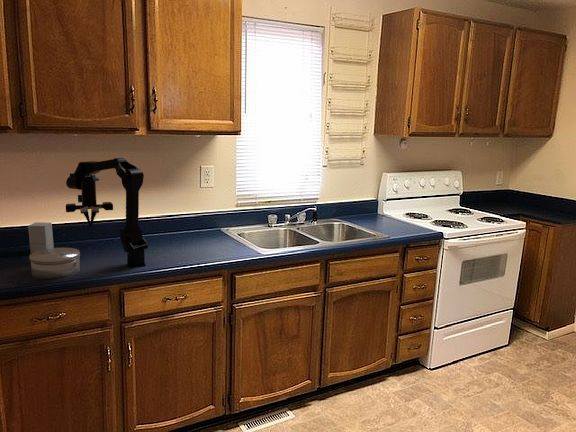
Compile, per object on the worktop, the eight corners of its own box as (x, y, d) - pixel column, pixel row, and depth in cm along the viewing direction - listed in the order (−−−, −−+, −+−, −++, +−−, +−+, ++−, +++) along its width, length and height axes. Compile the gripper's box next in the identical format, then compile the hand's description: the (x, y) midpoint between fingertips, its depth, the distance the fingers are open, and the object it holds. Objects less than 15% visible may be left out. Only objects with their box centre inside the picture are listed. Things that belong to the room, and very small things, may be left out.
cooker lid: (79, 248, 196) (79, 246, 196) (80, 260, 181) (80, 257, 181) (30, 252, 189) (30, 249, 189) (28, 264, 173) (27, 262, 173)
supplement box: (54, 249, 217) (52, 222, 214) (46, 253, 209) (44, 225, 207) (37, 249, 216) (35, 221, 214) (29, 253, 209) (27, 225, 207)
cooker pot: (79, 258, 204) (78, 244, 203) (81, 275, 182) (80, 260, 181) (33, 262, 197) (32, 247, 196) (29, 281, 175) (28, 264, 173)
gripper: (110, 187, 214) (111, 221, 217) (64, 188, 206) (66, 224, 209) (112, 191, 204) (114, 226, 207) (64, 192, 197) (66, 229, 200)
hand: (90, 226), depth 206 cm, fingers closed
